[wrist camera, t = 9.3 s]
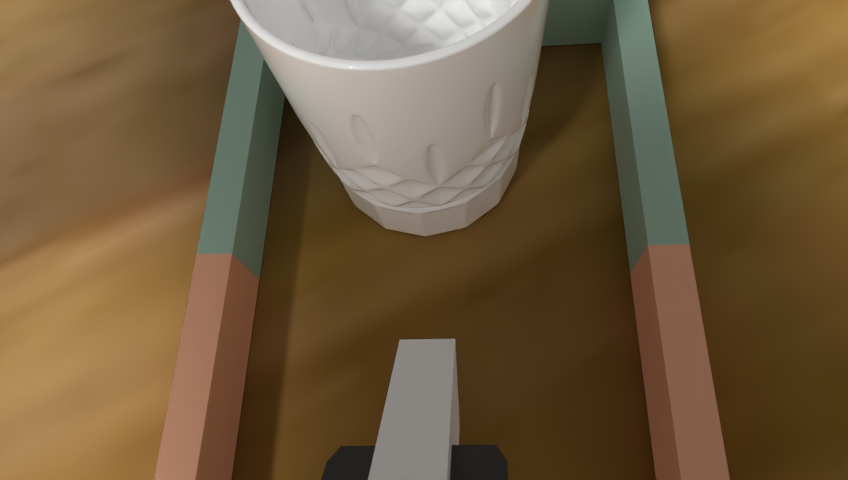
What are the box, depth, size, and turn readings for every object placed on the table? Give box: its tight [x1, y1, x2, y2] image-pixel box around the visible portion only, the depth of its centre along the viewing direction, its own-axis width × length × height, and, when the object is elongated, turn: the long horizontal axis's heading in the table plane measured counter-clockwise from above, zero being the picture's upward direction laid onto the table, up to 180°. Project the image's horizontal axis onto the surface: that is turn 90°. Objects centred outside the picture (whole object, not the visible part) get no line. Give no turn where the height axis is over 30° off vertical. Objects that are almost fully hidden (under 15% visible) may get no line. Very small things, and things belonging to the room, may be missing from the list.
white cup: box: [230, 0, 550, 236], centre depth 18 cm, size 8×8×10 cm
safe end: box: [197, 0, 690, 279], centre depth 21 cm, size 11×15×4 cm
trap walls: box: [154, 244, 730, 480], centre depth 18 cm, size 7×15×2 cm, turn 89°
